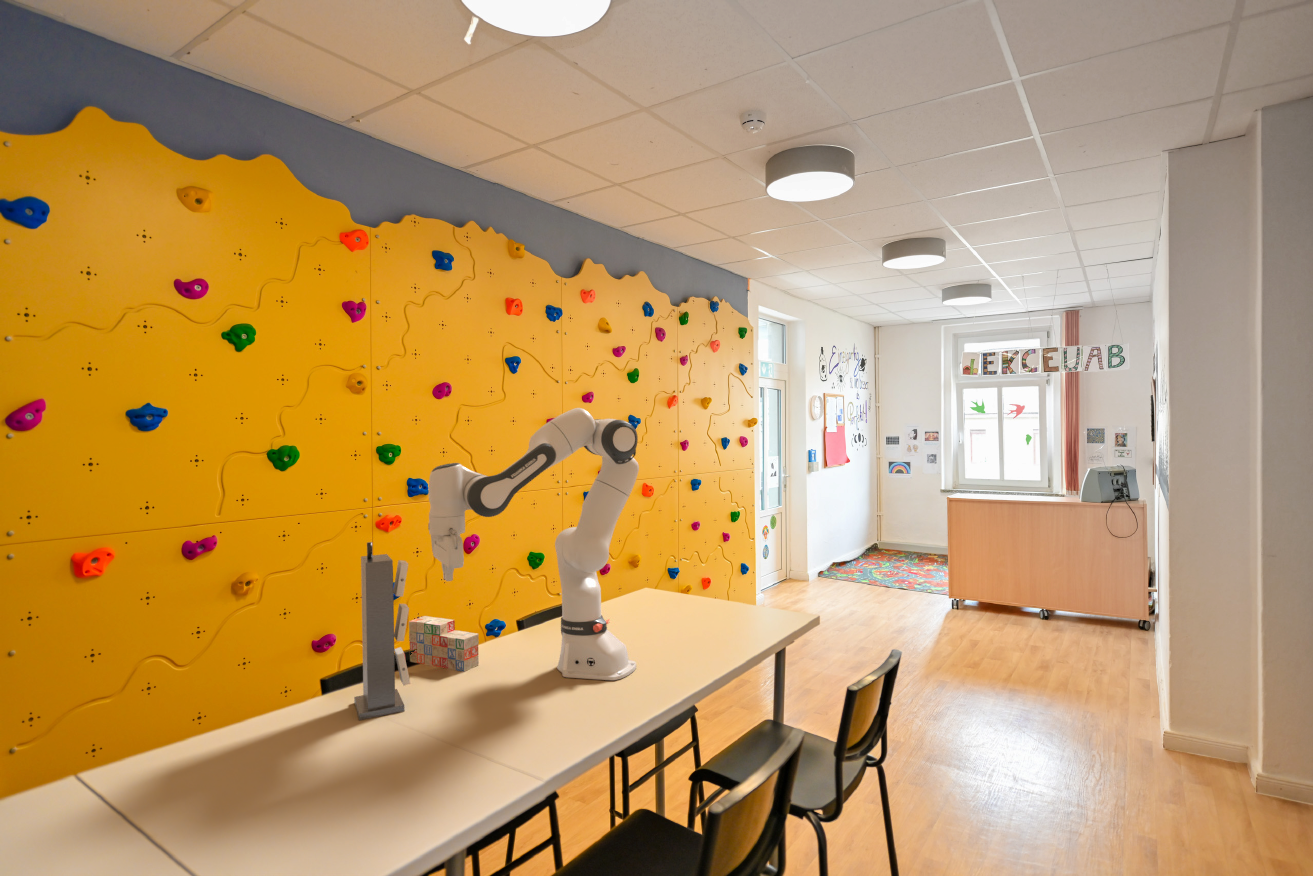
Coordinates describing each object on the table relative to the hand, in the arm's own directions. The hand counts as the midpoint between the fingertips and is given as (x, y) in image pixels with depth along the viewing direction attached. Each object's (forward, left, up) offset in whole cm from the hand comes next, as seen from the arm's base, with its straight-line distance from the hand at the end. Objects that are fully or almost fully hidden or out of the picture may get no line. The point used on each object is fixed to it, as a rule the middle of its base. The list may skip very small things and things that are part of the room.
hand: (448, 580), depth 172 cm
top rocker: (+7, +10, -2) cm, 12 cm away
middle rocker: (+7, +10, -13) cm, 18 cm away
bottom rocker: (+6, +9, -24) cm, 26 cm away
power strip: (+10, +14, -29) cm, 34 cm away
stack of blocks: (+17, -17, -30) cm, 38 cm away
